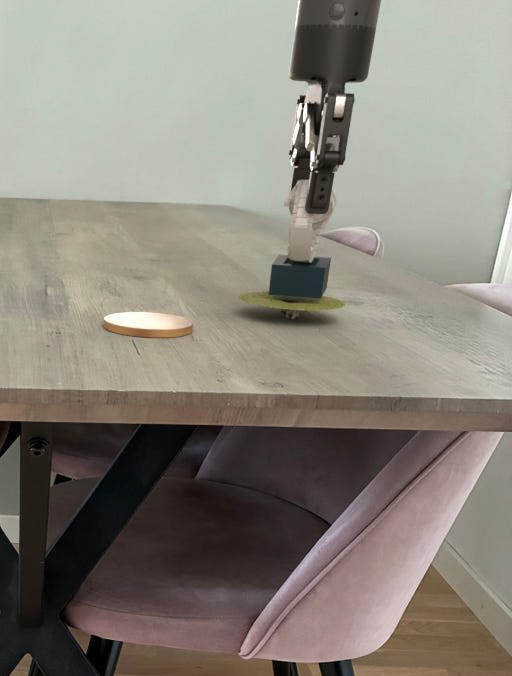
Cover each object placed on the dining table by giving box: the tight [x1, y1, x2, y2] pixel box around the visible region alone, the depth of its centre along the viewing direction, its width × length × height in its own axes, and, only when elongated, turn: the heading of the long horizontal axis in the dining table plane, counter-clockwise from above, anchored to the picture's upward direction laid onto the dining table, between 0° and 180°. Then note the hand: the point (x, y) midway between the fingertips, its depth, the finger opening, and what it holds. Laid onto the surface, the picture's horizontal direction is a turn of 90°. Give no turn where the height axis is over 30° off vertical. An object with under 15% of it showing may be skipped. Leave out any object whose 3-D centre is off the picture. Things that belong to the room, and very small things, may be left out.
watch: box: [268, 180, 338, 299], centre depth 100 cm, size 6×8×11 cm
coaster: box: [102, 311, 194, 339], centre depth 96 cm, size 9×9×1 cm
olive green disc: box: [238, 291, 346, 320], centre depth 103 cm, size 11×11×2 cm
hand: (306, 209), depth 99 cm, fingers closed on watch, 8 cm apart
